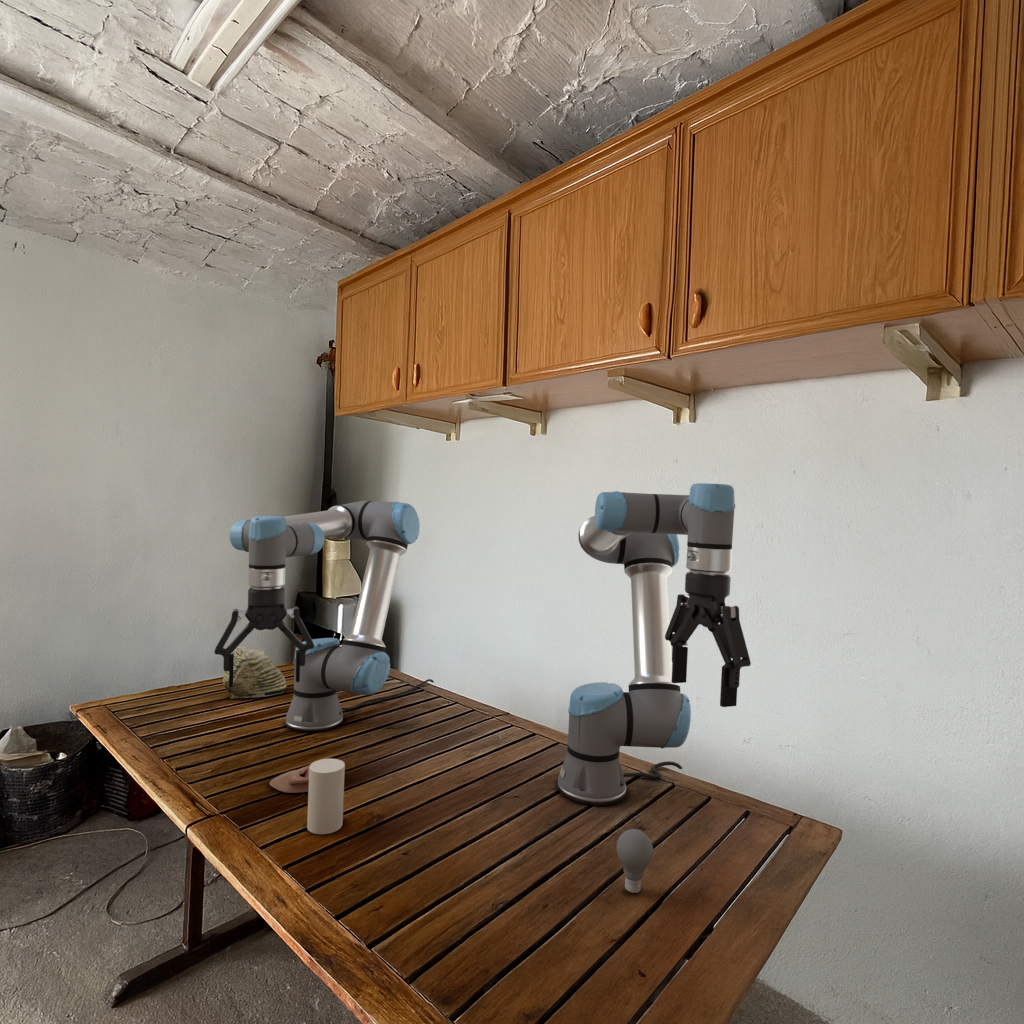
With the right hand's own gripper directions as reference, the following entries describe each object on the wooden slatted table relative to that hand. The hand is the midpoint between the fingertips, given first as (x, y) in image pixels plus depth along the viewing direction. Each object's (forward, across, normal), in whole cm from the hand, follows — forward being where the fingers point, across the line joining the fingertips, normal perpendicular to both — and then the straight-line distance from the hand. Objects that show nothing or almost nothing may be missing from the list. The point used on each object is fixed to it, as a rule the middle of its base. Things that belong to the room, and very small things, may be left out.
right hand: (702, 693), depth 111 cm
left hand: (+10, -57, -72) cm, 92 cm away
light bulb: (+32, +1, -13) cm, 35 cm away
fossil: (+32, -121, -75) cm, 146 cm away
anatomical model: (+32, -54, -63) cm, 89 cm away
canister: (+32, -34, -60) cm, 76 cm away
